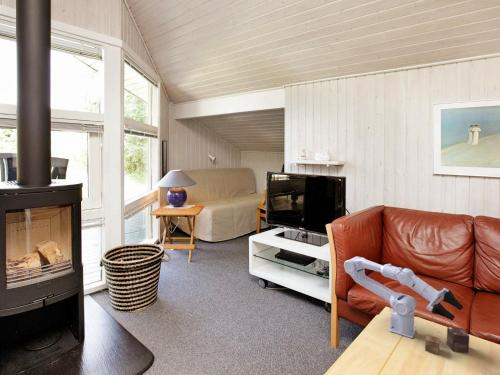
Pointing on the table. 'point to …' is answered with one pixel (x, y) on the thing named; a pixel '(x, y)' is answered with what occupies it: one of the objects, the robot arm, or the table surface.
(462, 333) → the box
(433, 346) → the walnut block
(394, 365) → the table surface
